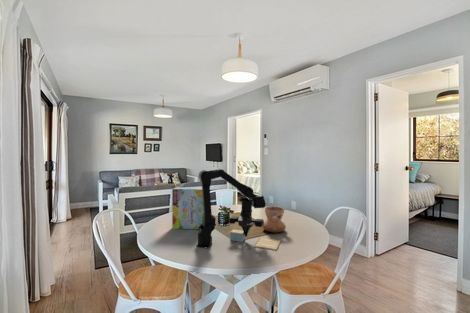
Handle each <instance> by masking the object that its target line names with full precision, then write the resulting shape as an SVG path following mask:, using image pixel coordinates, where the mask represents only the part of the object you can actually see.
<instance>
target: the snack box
mask: <svg viewBox="0 0 470 313" xmlns="http://www.w3.org/2000/svg"><path fill="white" fill-rule="evenodd" d="M171 190H172V191H171V195H172V197H171V198H172V201H171V202H172V203H171V205H172V208H171V209H172V215H171V216H172V217H171V219H172V220H171V222H172V226H171V227H172V228H171V229H172V230H173V229H176V230H178V229H180V230H198V227H199V226H200V225H201V224H202V220H203V215H204V209H203V194H202V187H193V186H192V187H188V186H187V187H179V186H178V187H174V188H172V189H171Z"/></svg>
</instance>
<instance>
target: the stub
mask: <svg viewBox="0 0 470 313" xmlns="http://www.w3.org/2000/svg"><path fill="white" fill-rule="evenodd" d="M229 233H230V235H229V236H230V237H229V238H230V241H233V242H239V243H243V242H244V241H245V239H246V237H245V234H244V231H243V229H242V230H241V229H240V230H239V229H234V228H233V229H232V230H231V231H230V232H229Z"/></svg>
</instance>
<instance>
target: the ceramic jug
mask: <svg viewBox="0 0 470 313" xmlns="http://www.w3.org/2000/svg"><path fill="white" fill-rule="evenodd" d="M264 212H265V216H266V218H267V219H266V220H265V221H264V225H263V226H262V228H263V229H264V230H265V231H266V232H269V233H275V234H276V233H281V232H284V231H285V230H286V226H287V225H286V224H285V223H284V222H283V221H282V218H283V216H284V214H285V208H282V207H279V206H274V205H273V206H265V208H264Z"/></svg>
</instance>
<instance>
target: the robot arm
mask: <svg viewBox="0 0 470 313" xmlns="http://www.w3.org/2000/svg"><path fill="white" fill-rule="evenodd" d="M198 178H199V179H198V180H199V183H200V186H201V188H202V194H203V209H204V215H203V220H202V224H201V225H200V226H199V227H198V229H197V230H198V233H197V244H196V245H195V246H196V247H199V248H206V249H208V248H209V247H210V246H211V245H213V236H212V232H214V230H215V228H216V226H217V224H216V217H215V215H214V214H212V213H213V212H212V200H211V199H212V198H211V184H212V180H214V179H217V178H222V180H224V181H225V182H227V183H228V184H230V185H231V186H232V187H234V188H235V189H236V191H238V192H239V193H240V194H241V195H242V196H240V197H239V198H237V201H238V202H241V208H240V209H241V211H240V215H239V216H236V215H233V216H231V217H229V220H228V223H229V224H235V223H238V226H239V227H241V228H242V231H244V234H245V238H247V237H248V234H249V232H250V230H251V228H252V227H253V226H255V227H256V228H263V225H264V222H265V221H264V219H262V218H256V219H255V220H254V219H253V217H252V215H253V214H252V212H253V210H252V209H265V208H266V204H267V203H266V201H265V200H266V199H265V197H264V196H263V195H257V196H256V194H255V193H254V189H253V188H252V187H250V186H248V185H247V184H246V185H245V184H243V183H241V182H240V181H238V179H236V178H235V177H233V176H231V175H230V174H229V173H228V172H226V171H225V170H224V169H221V168H218V169H214V170H213V169H212V170H206V169H203V170H201V171H200V172H199V173H198ZM243 196H244V197H243Z"/></svg>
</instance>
